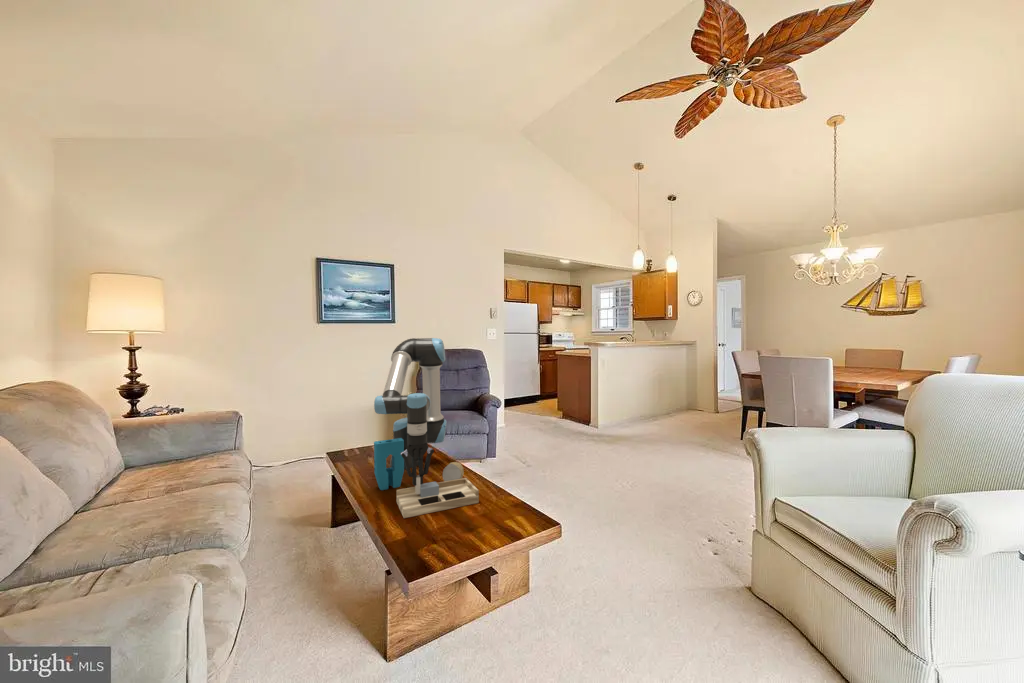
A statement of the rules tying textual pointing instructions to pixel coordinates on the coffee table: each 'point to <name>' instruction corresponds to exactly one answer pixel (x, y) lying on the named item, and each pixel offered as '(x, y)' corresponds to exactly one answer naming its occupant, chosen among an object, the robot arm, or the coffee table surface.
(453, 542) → the coffee table surface
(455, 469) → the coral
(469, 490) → the box
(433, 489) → the block
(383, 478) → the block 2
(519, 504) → the coffee table surface
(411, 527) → the coffee table surface
